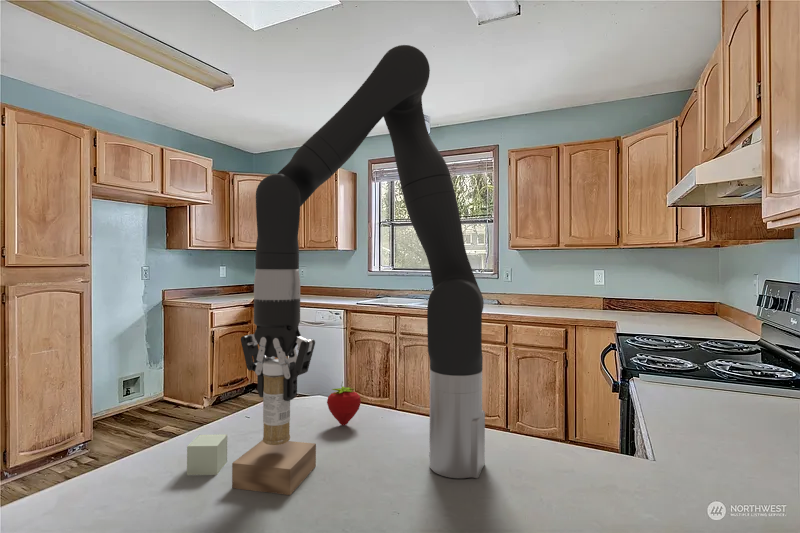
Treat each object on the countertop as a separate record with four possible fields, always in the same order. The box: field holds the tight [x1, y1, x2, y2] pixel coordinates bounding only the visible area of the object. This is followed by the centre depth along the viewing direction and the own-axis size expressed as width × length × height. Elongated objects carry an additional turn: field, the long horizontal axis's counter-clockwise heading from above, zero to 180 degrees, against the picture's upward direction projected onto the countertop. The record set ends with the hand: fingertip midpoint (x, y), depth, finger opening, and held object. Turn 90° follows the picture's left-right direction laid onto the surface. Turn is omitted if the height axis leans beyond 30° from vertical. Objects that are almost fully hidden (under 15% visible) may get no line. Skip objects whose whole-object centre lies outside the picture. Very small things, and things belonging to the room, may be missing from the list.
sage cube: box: [186, 434, 228, 476], centre depth 76 cm, size 5×5×5 cm
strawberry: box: [326, 381, 362, 426], centre depth 97 cm, size 6×8×10 cm
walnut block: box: [231, 439, 317, 496], centre depth 73 cm, size 10×10×4 cm
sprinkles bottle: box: [262, 358, 291, 445], centre depth 74 cm, size 5×5×14 cm
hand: (276, 397), depth 74 cm, fingers closed on sprinkles bottle, 4 cm apart
